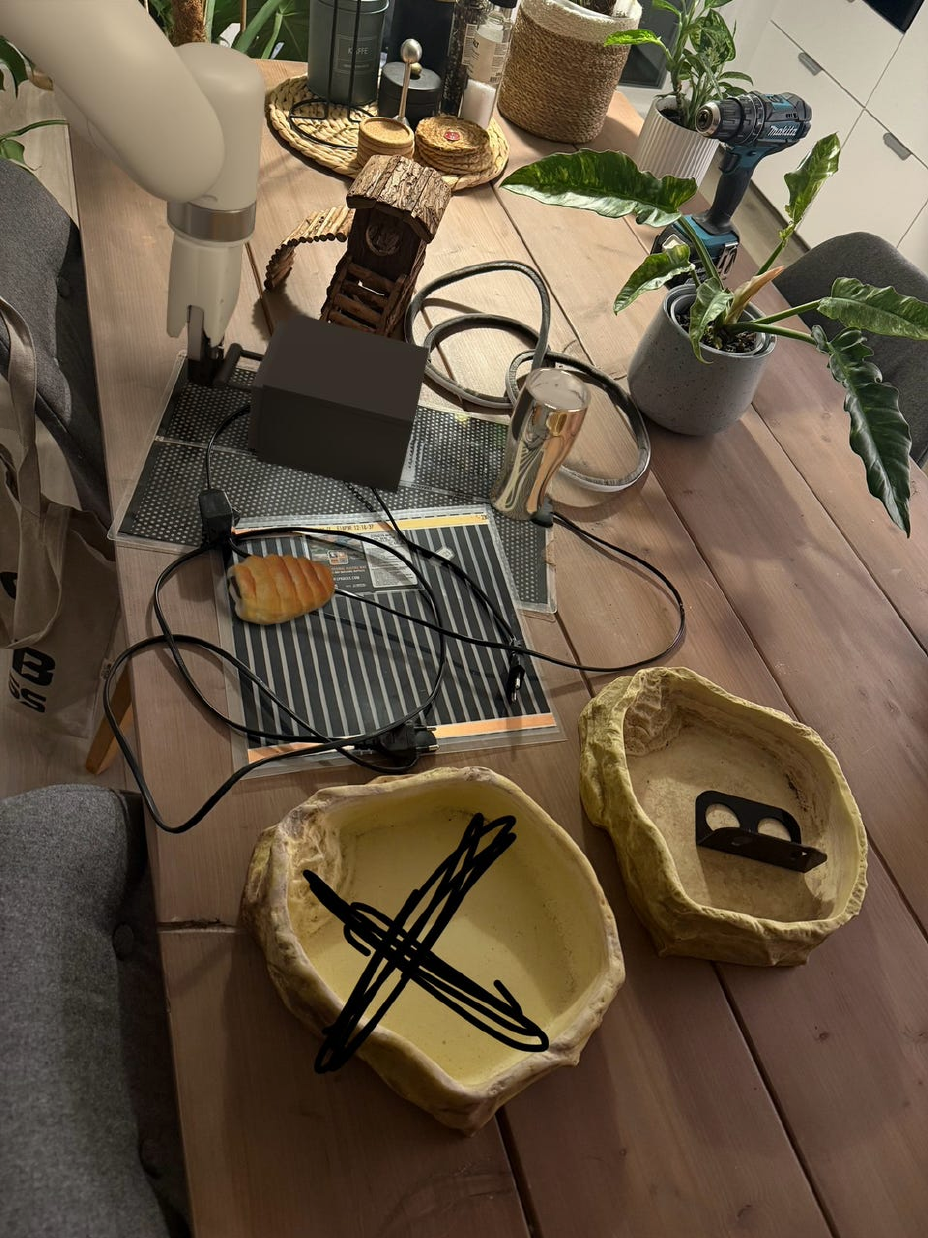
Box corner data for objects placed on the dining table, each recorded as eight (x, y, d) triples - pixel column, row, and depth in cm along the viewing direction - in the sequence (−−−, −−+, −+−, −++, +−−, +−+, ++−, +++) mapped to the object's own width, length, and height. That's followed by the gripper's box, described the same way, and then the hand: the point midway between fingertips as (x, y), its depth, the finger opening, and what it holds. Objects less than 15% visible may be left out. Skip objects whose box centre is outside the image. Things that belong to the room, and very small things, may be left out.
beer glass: (493, 524, 92) (535, 411, 81) (477, 478, 96) (515, 363, 85) (554, 523, 94) (603, 413, 83) (536, 478, 98) (580, 367, 87)
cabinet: (257, 460, 90) (262, 383, 83) (284, 387, 98) (291, 312, 91) (397, 493, 92) (414, 421, 84) (412, 419, 100) (429, 348, 92)
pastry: (320, 560, 83) (324, 533, 81) (344, 615, 80) (349, 588, 77) (221, 577, 79) (222, 549, 77) (241, 635, 76) (243, 608, 73)
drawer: (205, 437, 89) (205, 373, 83) (234, 371, 96) (236, 309, 90) (377, 478, 91) (390, 419, 85) (393, 411, 98) (405, 352, 92)
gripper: (190, 162, 81) (187, 333, 95) (143, 237, 72) (146, 416, 85) (271, 185, 83) (256, 351, 96) (235, 262, 73) (224, 435, 86)
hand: (205, 381), depth 91 cm, fingers closed
